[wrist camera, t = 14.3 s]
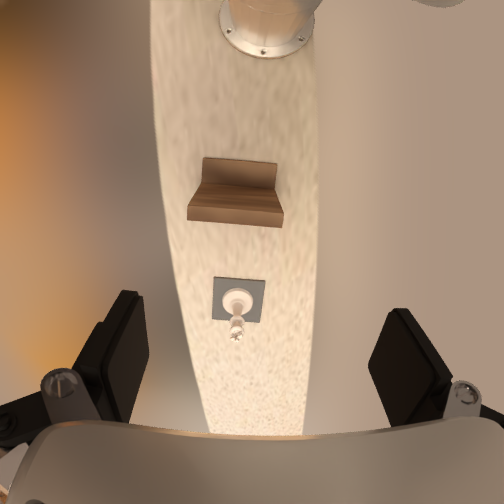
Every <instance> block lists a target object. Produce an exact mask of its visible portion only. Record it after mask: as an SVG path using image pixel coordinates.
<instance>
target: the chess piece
mask: <svg viewBox="0 0 504 504" xmlns="http://www.w3.org/2000/svg"><path fill="white" fill-rule="evenodd" d="M222 302H223V307H224V309H225V310H226V311H227V312H229V313H230V314H233V317H232V318H231V319H230V324H231V325H232V327H231V329H230V334H231V335H232V337H231V341H235V342H236V343H237V342H239V338H242V337H243V334H244V329H243V327H242V326H243V325H244V319H243V318H242V317H241V315H243V314H245V313H247V312H248V311H249V310H250V309H251V308H252V304H253V298H252V295H251V294H250V293H249V292H248V291H247V290H245V289H242V288H233V289H230V290H228V291H227V292H226V293H225V294H224V296H223V299H222Z"/></svg>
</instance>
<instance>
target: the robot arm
mask: <svg viewBox="0 0 504 504" xmlns="http://www.w3.org/2000/svg"><path fill="white" fill-rule="evenodd" d="M321 1H322V0H224V1H223V3H222V5H221V8H220V12H219V23H220V27H221V30H222V33H223V35H224V36H225V38H226V40H227V41H228V42H229V43H230V44H231V45H232V46H233V47H234V48H236V49H237V50H238V51H240V52H242V53H244V54H246V55H249V56H252V57H255V58H262V59H275V58H281V57H285V56H287V55H290V54H292V53H294V52H296V51H297V50H299V49H300V48H301V47H302V46H303V45H304V44H305V43H306V42H307V41H308V39H309V38H310V36H311V34H312V31H313V28H314V21H315V19H314V11H315V10H316V8H317V7H318V5H319V4H320V3H321ZM414 1H417V2H419V3H422V4H425V5H429V6H433V7H441V8H446V7H452V6H455V5H458V4H460V3H462V2H463V1H465V0H414ZM227 31H231V33H227ZM299 39H302V41H299ZM261 52H264V53H265V54H264V55H262V54H261ZM148 358H149V347H148V339H147V331H146V322H145V312H144V302H143V297H142V296H139V295H138V292H137V291H129V290H122V291H121V292H120V294H119V296H118V298H117V299H116V301H115V302H114V304H113V306H112V308H111V309H110V311H109V313H108V314H107V316H106V318H105V320H104V321H103V322H98V323H97V324H96V326H95V327H94V329H93V331H92V333H91V335H90V336H89V338H88V340H87V341H86V343H85V345H84V347H83V349H82V350H81V352H80V354H79V356H78V357H77V359H76V361H75V363H74V365H73V367H72V369H68V368H58V369H54V370H52V371H50V372H49V373H47V374H46V375H45V376H44V377H43V379H42V381H41V384H40V388H41V391H39V392H36V393H33V394H31V395H28V396H26V397H23V398H20V399H17V400H15V401H12V402H9V403H6V404H4V405H1V406H0V504H504V415H503V414H501V413H499V412H497V411H495V410H493V409H490V408H488V407H486V406H484V405H482V404H481V401H482V399H481V394H480V391H479V390H478V389H477V387H475V386H474V385H473V384H471V383H469V382H467V381H460V380H459V381H456V382H454V383H453V384H452V382H451V379H452V377H453V375H452V374H451V372H450V371H449V369H448V367H447V366H446V365H445V363H444V361H443V360H442V358H441V356H440V355H439V354H438V352H437V350H436V349H435V347H434V346H433V344H432V343H431V341H430V340H429V339H428V337H427V336H426V334H425V332H424V331H423V330H422V328H421V327H420V325H419V324H418V322H417V321H416V319H415V318H414V317H413V315H412V314H411V312H410V311H409V310H408V309H407V308H394V309H393V310H392V311H391V312H389V313H388V315H387V318H386V320H385V323H384V325H383V328H382V331H381V333H380V336H379V338H378V341H377V343H376V346H375V348H374V350H373V353H372V355H371V357H370V360H369V363H368V369H369V372H370V374H371V376H372V379H373V381H374V384H375V386H376V389H377V392H378V394H379V397H380V399H381V402H382V404H383V407H384V409H385V412H386V415H387V417H388V420H389V422H390V425H391V427H390V428H383V429H376V430H368V431H358V432H348V433H336V434H321V435H297V436H253V435H228V434H213V433H201V432H191V431H182V430H172V429H164V428H157V427H149V426H143V425H136V424H129V420H130V417H131V413H132V410H133V407H134V404H135V400H136V397H137V394H138V390H139V387H140V384H141V381H142V377H143V374H144V371H145V368H146V365H147V362H148ZM11 483H12V485H11V487H10V491H9V493H8V489H9V485H10V484H11Z"/></svg>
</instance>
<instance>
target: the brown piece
mask: <svg viewBox="0 0 504 504" xmlns="http://www.w3.org/2000/svg"><path fill="white" fill-rule="evenodd" d="M276 171H277V164H273V163H263V162H253V161H242V160H230V159H216V158H203V166H202V182H201V184H200V186H199V188H198V189H197V191H196V193H195V194H194V196H193V197H192V199H191V201H190V202H189V204H188V208H187V220H191V221H204V222H217V223H229V224H241V225H253V226H265V227H276V228H282V224H283V217H284V212H283V210H282V207H281V205H280V202H279V200H278V197H277V194H276V192H275V189H274V188H275V180H276Z"/></svg>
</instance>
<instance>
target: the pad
mask: <svg viewBox="0 0 504 504" xmlns="http://www.w3.org/2000/svg"><path fill="white" fill-rule="evenodd" d="M233 288H242V289H245V290H247V291H248V292H249V293H250V294H251V295H252V298H253V304H252V308H251V309H250V310H249V311H248V312H247V313H245V314H243V315H241V317H242V318H243V319H244V322H257V323H260V316H261V309H262V302H263V295H264V288H265V281H263V280H250V279H237V278H224V277H214V287H213V310H212V319H216V320H228V321H230V319H231V318H232V317H233V314H230V313H229V312H227V311H226V310H225V309H224V307H223V302H222V299H223V296H224V294H225V293H226V292H227V291H228V290H230V289H233Z"/></svg>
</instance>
